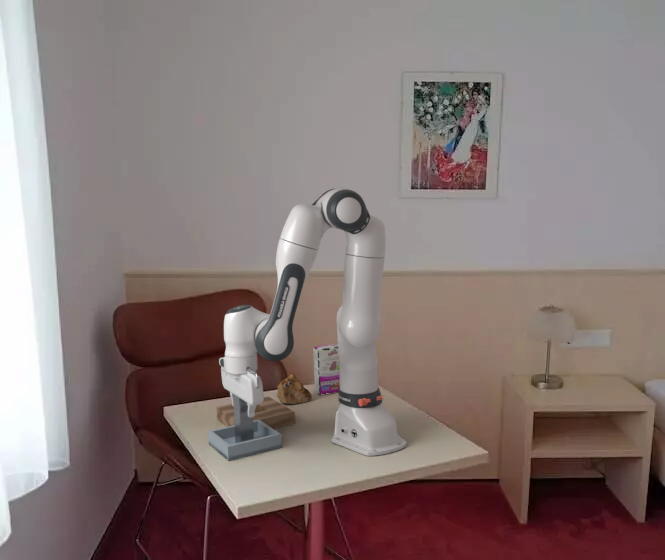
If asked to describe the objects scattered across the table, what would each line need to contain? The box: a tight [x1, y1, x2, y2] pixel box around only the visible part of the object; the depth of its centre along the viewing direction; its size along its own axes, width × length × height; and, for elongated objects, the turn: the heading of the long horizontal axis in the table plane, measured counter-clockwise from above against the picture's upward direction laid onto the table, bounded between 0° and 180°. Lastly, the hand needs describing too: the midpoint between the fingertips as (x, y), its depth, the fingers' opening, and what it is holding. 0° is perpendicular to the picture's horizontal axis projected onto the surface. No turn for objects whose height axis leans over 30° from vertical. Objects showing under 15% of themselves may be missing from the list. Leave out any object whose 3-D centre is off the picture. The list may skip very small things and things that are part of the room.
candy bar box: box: [312, 343, 340, 396], centre depth 243 cm, size 11×5×16 cm, turn 114°
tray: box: [207, 420, 283, 462], centre depth 196 cm, size 14×16×4 cm
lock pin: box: [233, 394, 254, 443], centre depth 195 cm, size 4×4×14 cm
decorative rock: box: [276, 372, 313, 405], centre depth 232 cm, size 12×6×11 cm, turn 120°
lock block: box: [216, 396, 296, 430], centre depth 216 cm, size 18×18×4 cm
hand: (243, 411), depth 195 cm, fingers open, 8 cm apart
